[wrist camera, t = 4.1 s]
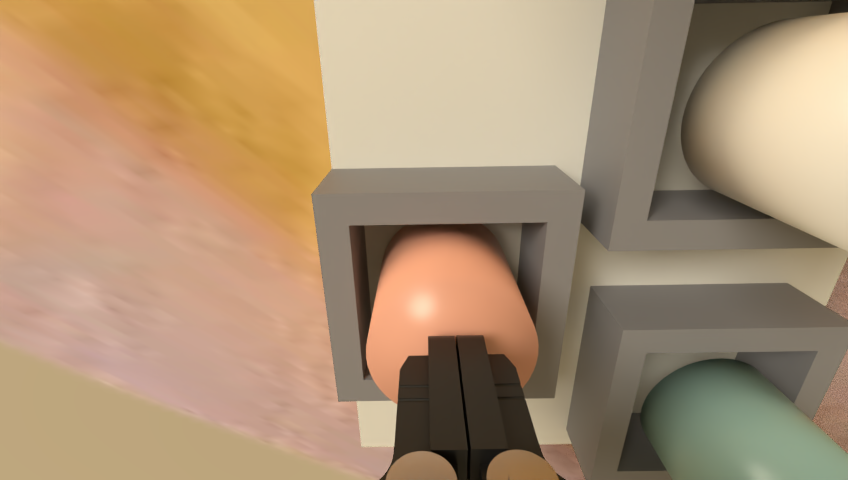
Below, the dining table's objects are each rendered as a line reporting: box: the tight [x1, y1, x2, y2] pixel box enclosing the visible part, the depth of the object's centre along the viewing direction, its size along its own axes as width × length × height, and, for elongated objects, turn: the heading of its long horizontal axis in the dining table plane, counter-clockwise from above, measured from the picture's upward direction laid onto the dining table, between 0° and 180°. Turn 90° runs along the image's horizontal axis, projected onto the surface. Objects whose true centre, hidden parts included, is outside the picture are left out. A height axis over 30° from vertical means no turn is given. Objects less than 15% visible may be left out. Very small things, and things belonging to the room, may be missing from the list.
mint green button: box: [640, 358, 848, 480], centre depth 14 cm, size 5×5×5 cm
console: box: [311, 0, 848, 480], centre depth 16 cm, size 20×22×5 cm
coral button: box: [366, 223, 539, 404], centre depth 14 cm, size 5×5×5 cm
